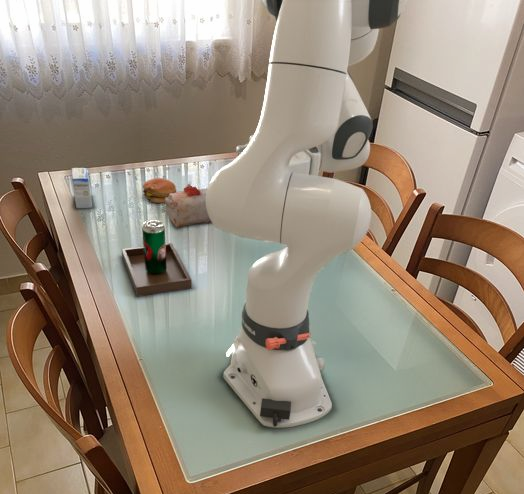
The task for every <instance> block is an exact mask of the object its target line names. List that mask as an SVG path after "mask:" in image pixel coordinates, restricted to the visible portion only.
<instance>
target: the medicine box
mask: <svg viewBox="0 0 524 494" xmlns="http://www.w3.org/2000/svg"><path fill="white" fill-rule="evenodd" d="M70 171H71V181H72V182H71V183H72V189H73V195H74V202H75V208H76V209H91V208H93V201H92V193H91V185H90V178H89V172H88V168H87V167H73V168H71V169H70Z"/></svg>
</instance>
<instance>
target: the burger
mask: <svg viewBox="0 0 524 494" xmlns="http://www.w3.org/2000/svg"><path fill="white" fill-rule="evenodd" d="M142 189H143V190H142V192H143V196H144V197H145V199H147V200H150V202H151V203H156V204H166V202H165V199H166V197H167V198H168V197H169V194H171V193H175V192H177V186H176V185H175V183H174V182H172V181H171V180H169V179H167V178H163V177H155V178H151V179H148V180H146V181H145V182H144V183H143V184H142Z"/></svg>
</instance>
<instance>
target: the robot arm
mask: <svg viewBox="0 0 524 494" xmlns="http://www.w3.org/2000/svg"><path fill="white" fill-rule="evenodd" d="M261 1H262V3H263V5H264V7H265V9H266V10H267V11H268V13H269V14H270V15H272V16H273V17H274V19H275V21H276V24H275V27H274V32H273V33H274V34H273V36H272V42H271V48H270V55H269V62H268V68H267V69H268V71H267V79H266V85H265V92H264V96H263V97H264V99H263V103H262V108H261V113H260V118H259V121H258V124H257V127H256V129H255V132H254V133H253V134H252V135H250V136H249V139H248V142H247V143H245V144H243V145H236V148H235V153H236V155H237V156H236V158H235V159H234V160H232V161H231V162H229V163H227V164H226V165H224V166H223V167H221V168H220V169H219V170H217V171H216V172H215V173H214V174H213V176H212V178H211V179H210V181H209V183H208V186H207V187H206V188H207V192H206V209H207V213H208V215H209V218H210V220H211V223H212V224H213V226H214V227H215V228H216V229H217V230H221V231H223V232H226V233H228V234H231V235H233V236H237V237H239V238H243V239H248V240H249V239H250V240H255V241H261V242H267V243H273V244H279V245H281V246H285V247H284V248H282V249H280V250H277V251H274V252H271V253H267V254H265V255H263V256H261V257H259V258H258V259H257V260H256V261H255V262H254V263H252V264H251V266H250V268H249V270H248V272H247V277H246V291H245V292H246V293H245V302H244V303H243V306H242V311H241V328H240V331H239V332H238V334H237V336H236V337H235V338H234V340H233V344H232V345H231V347H230V348H229V349H228V350H227V351H226V357H230V355H231V359H230V365H229V366H227V368H226V369H224V371H223V375H222V378H223V380H224V381H225V382H226V383H227V384H228V385H229V387H230V388H231V389H232V390H233V392H234V393H235V394H236V395H237V396H238V397H239V399H240V400H241V401H242V402H243V403H244V405H245V406H246V407H247V409H248V410H249V411H250V412H251V413H252V415H253V416H254V417H255V418H256V420H258V422H259V423H260V424H261V425H262V426H264V427H268V428H277V429H280V428H281V429H282V428H292V427H296V426H297V427H298V426H302V425H305V424H309V423H312V422H314V421H315V422H316V421H318V420H319V419H322V418H324V417H325V416H326V415H327V414H329V412H330V411H331V410H332V407H333V403H332V400H331V398H330V396H329V393H328V390H327V387H326V385H325V382H324V380H323V377H322V373H321V371H323V370H325V366H326V365H325V364H326V363H325V360H324V358H323V357H317V356H316V353H315V350H314V348H316V341H315V340H312V339H311V336H310V335H312V333H311V332H310V324H311V323H310V321H311V320H310V315H309V303H310V297H311V294H312V289H313V286H314V283H315V281H316V279H317V277H318V275H319V273H320V272H321V270H323V268H324V267H325V266H326V265H328V264H329V263H330V262H331V261H332V260H333V259H335V258H337V257H339V256H341V255H343V254H345V253H348V252H350V251H352V250H353V249H355V248H357V246H359V245H360V244H361V242H362V241H363V240H364V239H365V238H366V236H367V234H368V232H369V229H370V227H371V223H372V206H371V203H370V200H369V197H368V195H367V193H366V192H365V190H364V189H363V188H361V187H359V186H356V185H354V184H351V183H349V182H347V181H343V180H341V179H338V178H333V177H326V176H321V175H319V173H322V172H324V173H328V174H331V173H332V174H333V173H341V172H347V171H351V170H355V169H358V168H360V167H362V166H364V164H365V163H366V162H367V160H368V158H369V156H370V152H371V143H370V140H369V139H370V137H371V134H372V133H373V132H372V131H373V127H374V123H373V121H372V117H371V115H370V114H369V112H368V109H367V107H366V105H365V103H364V101H363V99H362V97H361V95H360V93H359V91H358V89H357V87H356V84H355V81H354V79H353V77H352V75H351V73H350V71H349V70H348V68H349V66H354V65H356V64H358V63H361V62H362V61H363V60H365V59H366V58H367V57H368V56H369V55H371V53H372V52H373V51H374V49H375V47H376V44H377V41H378V37H379V32H380V29H385V28H390V27H391V26H392V25H394V23H396V22H397V21H398V20H399V19H400V17H401V14H402V12H403V11H404V9H405V7H406V5H407V3H408V1H409V0H261Z"/></svg>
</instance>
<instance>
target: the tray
mask: <svg viewBox="0 0 524 494" xmlns="http://www.w3.org/2000/svg"><path fill="white" fill-rule="evenodd" d="M121 258H122V261H123V263H124V266H125V269H126V271H127V274H128V276H129V279H130V282H131V284H132V286H133V289H134V292H135V294H136V295H135V296H136V297H142V296H150V295H156V294H162V293H163V294H164V293H170V292H177V291H181V290H182V291H183V290H188V289H192V278H191V276H190V275H189V272H188V271H187V268H186V267H185V265H184V263H183V261H182V259H181V258H180V255H179V254H178V252H177V250H176V248H175V245H174V244H173V243H172V242H169V243H166V265H167V268H166V270H165V271H164V272H163V273H161V274H151V273H149V272H147V271H146V269H145V260H144V247H143V246H137V247H136V246H135V247H128V248H121Z"/></svg>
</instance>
